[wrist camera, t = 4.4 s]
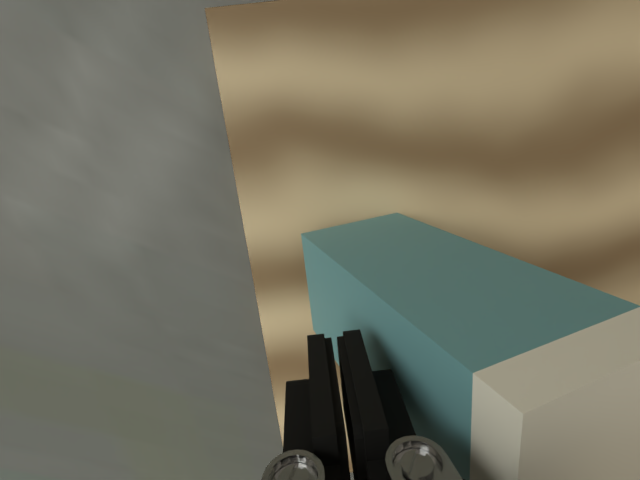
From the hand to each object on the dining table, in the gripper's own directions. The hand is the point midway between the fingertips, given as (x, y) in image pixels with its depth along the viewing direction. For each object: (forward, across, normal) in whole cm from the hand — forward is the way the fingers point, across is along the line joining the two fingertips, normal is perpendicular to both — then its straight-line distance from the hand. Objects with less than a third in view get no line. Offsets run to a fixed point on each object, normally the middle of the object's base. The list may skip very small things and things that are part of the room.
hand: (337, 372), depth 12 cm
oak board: (+9, -8, +1) cm, 13 cm away
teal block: (+7, -2, 0) cm, 7 cm away
